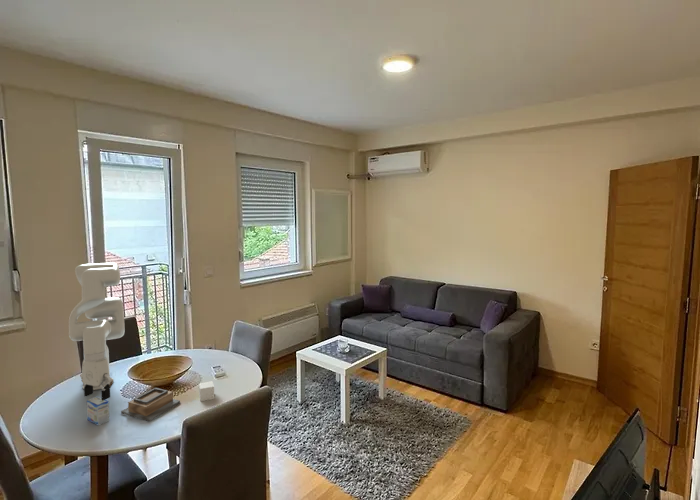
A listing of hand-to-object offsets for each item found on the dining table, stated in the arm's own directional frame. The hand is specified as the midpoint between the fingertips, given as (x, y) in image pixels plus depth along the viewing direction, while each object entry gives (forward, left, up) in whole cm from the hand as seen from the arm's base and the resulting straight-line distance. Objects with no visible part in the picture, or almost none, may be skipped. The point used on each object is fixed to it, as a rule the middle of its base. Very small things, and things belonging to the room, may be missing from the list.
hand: (97, 396), depth 151 cm
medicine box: (-1, 0, -11) cm, 11 cm away
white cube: (+26, +32, -11) cm, 43 cm away
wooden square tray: (+11, +15, -10) cm, 22 cm away
